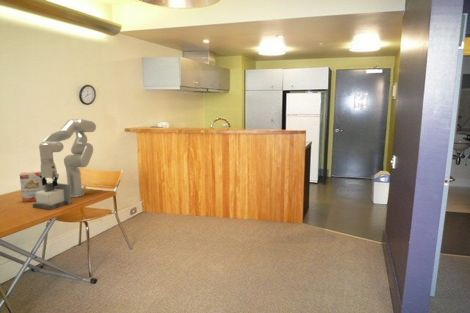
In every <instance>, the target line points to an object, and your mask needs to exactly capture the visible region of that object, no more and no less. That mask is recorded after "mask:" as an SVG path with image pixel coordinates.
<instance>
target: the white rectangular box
mask: <svg viewBox="0 0 470 313" xmlns="http://www.w3.org/2000/svg"><path fill="white" fill-rule="evenodd" d="M44 187H45V190H41V191H38V192H36V201H35V202H36V203H37V204H44V205H54V204H57V203H60V202H63V201H65V199H64V190H62V189H54V187H53V183H52V182H50V183H49V184H45V185H44Z"/></svg>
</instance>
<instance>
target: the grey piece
mask: <svg viewBox="0 0 470 313" xmlns="http://www.w3.org/2000/svg"><path fill="white" fill-rule="evenodd" d="M49 183H51V182H48V181H47V184H49ZM54 189H62V190H64V199H65V201H63V202H60V203H57V204H54V205H44V204H37V202H35V203H32V208H33V209H40V210H47V211H48V210H49V211H52V210H54V209H58V208H60V207H64V206H67V205H68V206H69V205H71V204H72V197H71V195H70V184H67V183H60V182H59V183H58V182H57V186H55V187H54Z"/></svg>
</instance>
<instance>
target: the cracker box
mask: <svg viewBox="0 0 470 313" xmlns="http://www.w3.org/2000/svg"><path fill="white" fill-rule="evenodd" d="M40 172H41V171H29V172H28V171H26V172H21V173H19V181H20V190H21V201H22V202H23V203H26V202H27V203H29V202H37V201H36V192H38V191H41V190H45V187H44V186H43V185H42V180H41V178H40V176H39V173H40Z"/></svg>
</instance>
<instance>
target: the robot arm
mask: <svg viewBox="0 0 470 313" xmlns="http://www.w3.org/2000/svg"><path fill="white" fill-rule="evenodd" d="M95 130H97V125H96V123H95V122H94V121H92V120H87V119H83V118H82V119H80V118H79V119H77V118H75V119H74V118H71V119H68V120H67V121H66V122H65V124H64V125H63V126H62V127H61V128H60V129H59V130H56V131H55V132H54V133H53V132H52V133H51V134H49V135H48V136H46V137H45V138H44V139H43V141H42V142H41V143H39V145H38V148H39V156H40V157H39V158H40V171H39V172H40V173H39V176H40V178H41V180H42V185H43V186H44V185H45V184H47V183H48V181H47V179H51V180H52V181H51V183H53V187H55V186H57V183H58V179H59V176H60V175H59V173H58V170H57V167H56V164H55V162H54V161H55V160H54V153H59V152H62V151H63V150H64V144H63V143H62V142H63V141H67V140H69V139H70V138H71V137H72V136H73V135H74V134H75V139H74V141H73V144H72V146H71V149H70V152H71V154H68V155H66V156H65V157H64V158H63V163H64V164H63V165H64V166H65V172H66V181H67V183H66V184H70V195H71V198H79V197H82V196H85V191H87V187H84V188H83V186H82V177H81V176H82V175H81V170H80V169H79V168H86V167H87V166H88V165H89V163H90V161H91V158H92V156H93V153H94V147H93V144H91V143H90V142H88V137H87V135H86V133H93V132H95Z"/></svg>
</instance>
